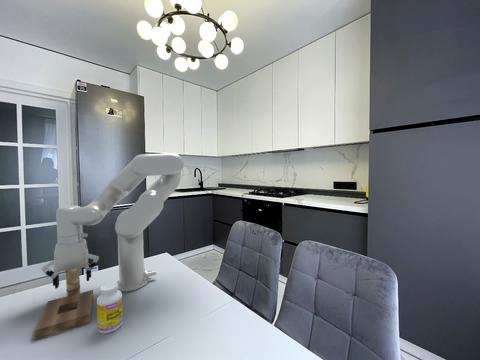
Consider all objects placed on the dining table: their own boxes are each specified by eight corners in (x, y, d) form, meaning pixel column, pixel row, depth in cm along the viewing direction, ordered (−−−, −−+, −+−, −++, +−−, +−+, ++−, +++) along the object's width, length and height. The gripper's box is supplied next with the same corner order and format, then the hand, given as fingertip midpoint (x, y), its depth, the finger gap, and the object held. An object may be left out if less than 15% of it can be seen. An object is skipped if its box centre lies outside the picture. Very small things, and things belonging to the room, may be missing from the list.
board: (93, 297, 82) (93, 289, 82) (90, 323, 68) (90, 314, 68) (48, 309, 75) (47, 301, 75) (35, 340, 61) (34, 330, 61)
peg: (81, 292, 85) (79, 262, 85) (80, 297, 82) (78, 266, 81) (67, 295, 83) (66, 265, 83) (66, 300, 80) (64, 269, 79)
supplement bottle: (105, 338, 62) (102, 294, 61) (93, 329, 66) (91, 288, 65) (127, 323, 68) (125, 283, 67) (116, 316, 71) (114, 278, 71)
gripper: (98, 232, 89) (100, 273, 90) (42, 240, 80) (45, 285, 81) (97, 237, 83) (99, 281, 84) (37, 246, 74) (40, 295, 75)
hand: (73, 283), depth 82 cm, fingers open, 9 cm apart
